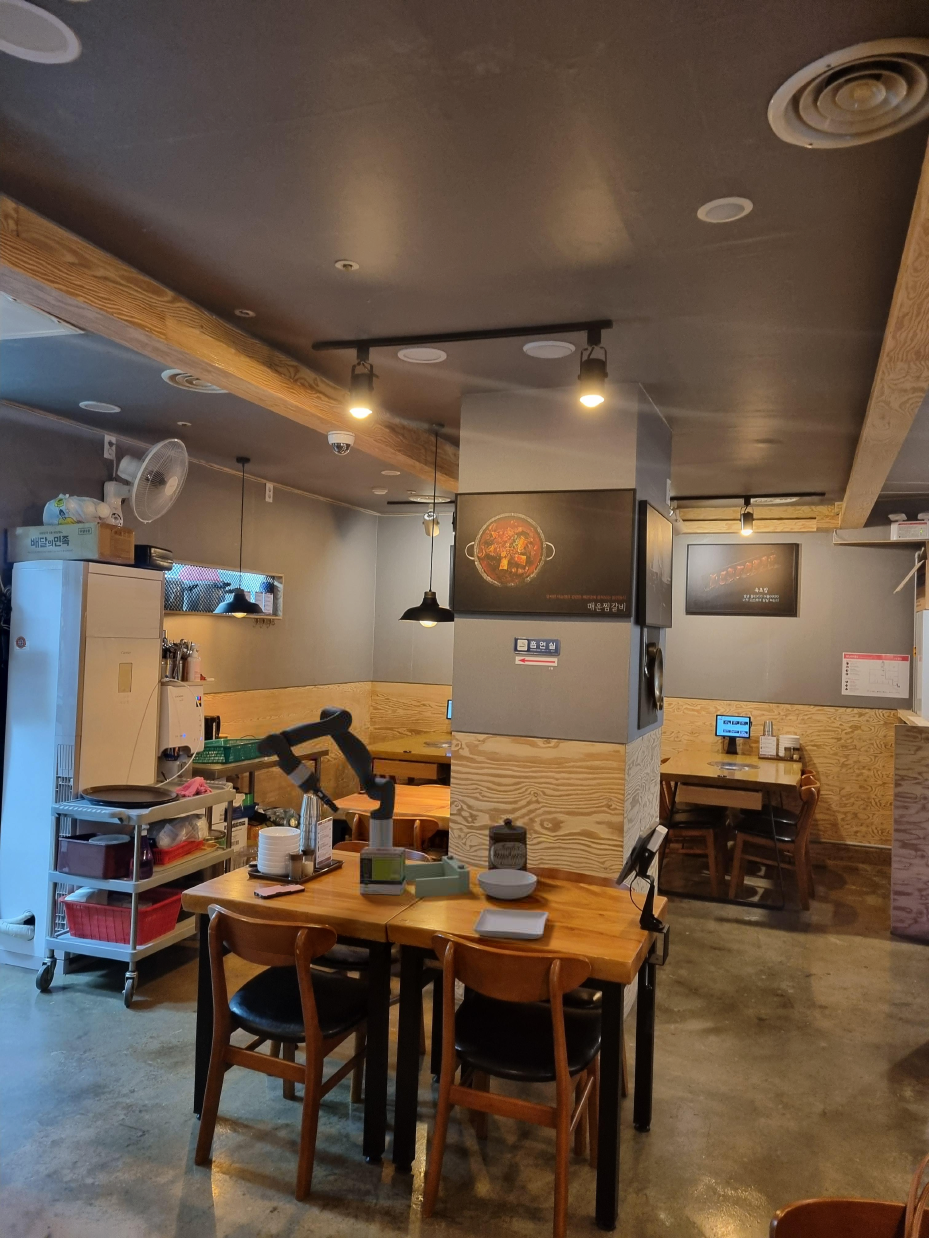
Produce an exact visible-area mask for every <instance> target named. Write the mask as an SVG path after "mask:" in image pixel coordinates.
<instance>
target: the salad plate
mask: <svg viewBox="0 0 929 1238" xmlns="http://www.w3.org/2000/svg"><path fill="white" fill-rule="evenodd" d="M548 916H549V912H548V911H537V910H536V911H535V910H521V909H502V908H483V909H482V911H481V912H480V915H479V917H478V919H477V921H476V923H475V924H474V926H473V928H472V930H473V932H474V933H476V934H477V935H480V936H484V937H491V938H503V939H513V940H514V939H516V940H536V939H539V938H541V937H542V936H543V935H544V932H545V931H544V930H545V925H546V921H547V918H548Z"/></svg>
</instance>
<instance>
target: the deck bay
mask: <svg viewBox="0 0 929 1238" xmlns="http://www.w3.org/2000/svg"><path fill="white" fill-rule="evenodd" d="M470 871H471V870H470V869H468V868H467V867H466V866H465V865H464V864H462V863H461V862H460V861H459V860H458V859H456V858H455V857H454V855H453V854H451V855H450V854H448V855H444V856H441V861H434V862H421V863H407V864H406V863H405V883H407V882H414V897H415V898H428V897H429V898H430V897H439V896H441V897H443V896H452V895H453V896H454V895H465V894H470V878H471V876H470V873H471V872H470Z"/></svg>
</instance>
